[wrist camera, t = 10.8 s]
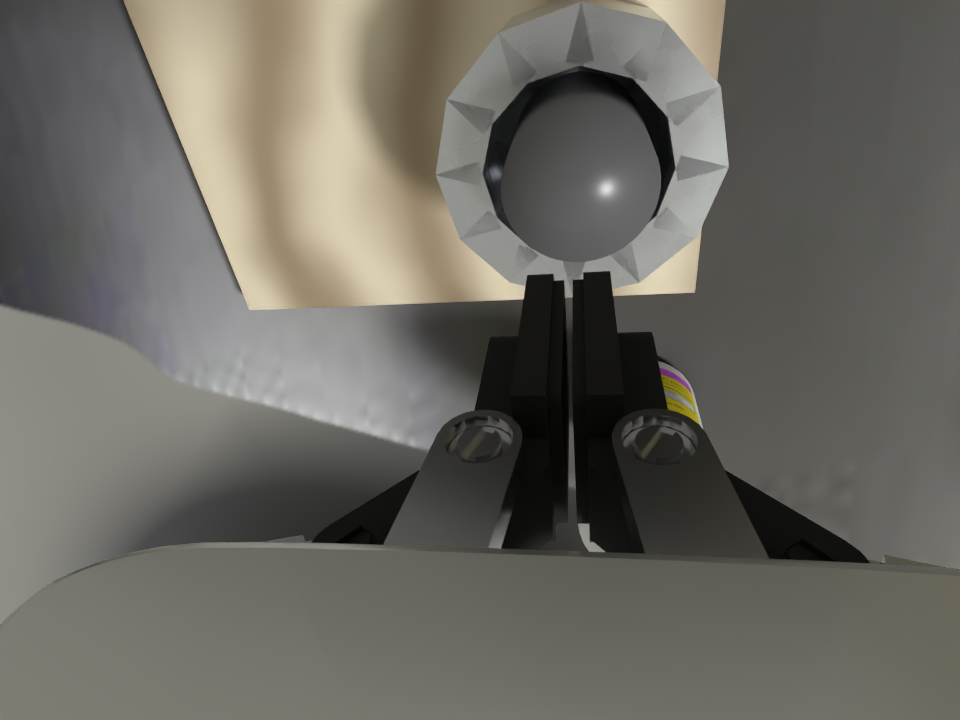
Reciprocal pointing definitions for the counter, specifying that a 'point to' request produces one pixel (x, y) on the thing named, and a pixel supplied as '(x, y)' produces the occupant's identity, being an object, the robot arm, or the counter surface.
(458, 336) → the counter surface
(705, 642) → the robot arm
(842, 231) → the counter surface
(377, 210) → the birch board
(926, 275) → the counter surface
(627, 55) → the lens barrel
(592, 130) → the grey rounded canister
